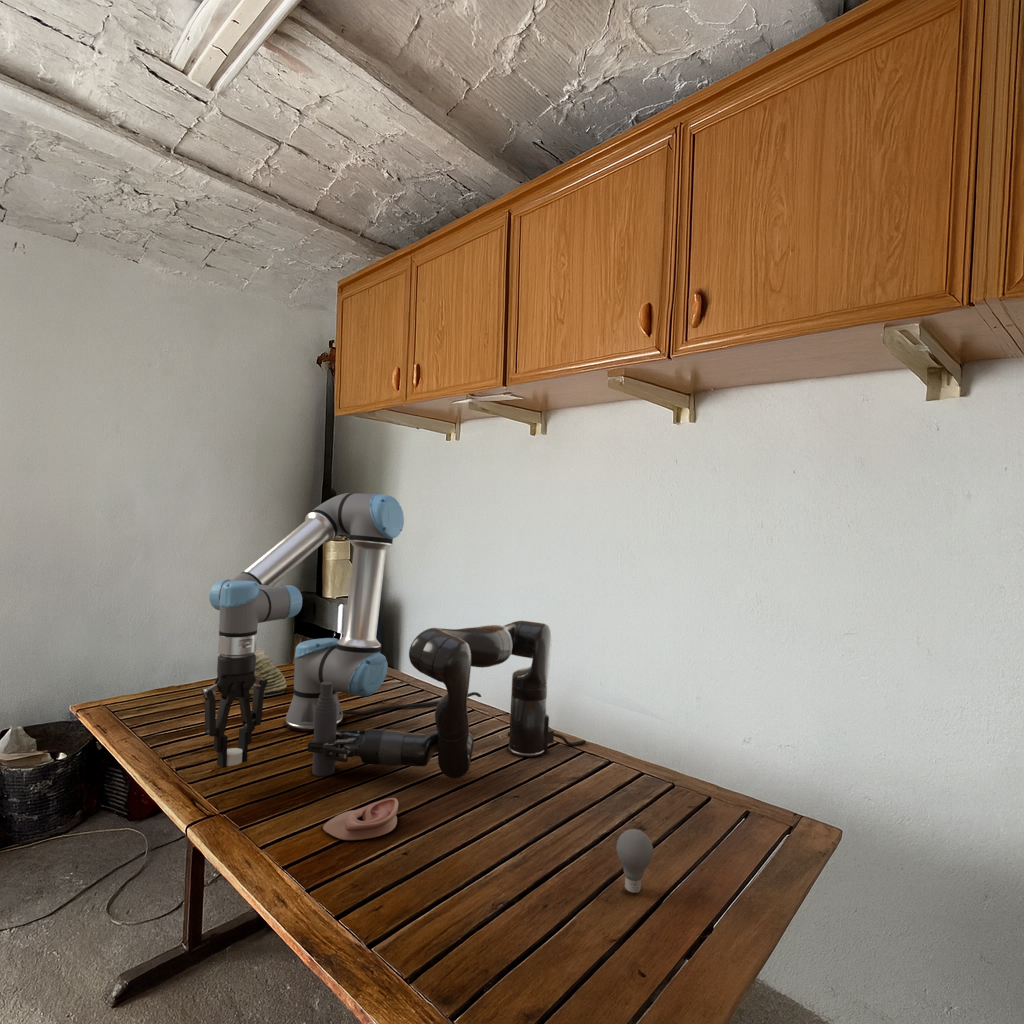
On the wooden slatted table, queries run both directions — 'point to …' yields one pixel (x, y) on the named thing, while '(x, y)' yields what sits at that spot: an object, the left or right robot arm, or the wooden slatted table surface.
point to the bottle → (324, 728)
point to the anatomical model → (364, 821)
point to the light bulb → (634, 857)
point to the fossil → (268, 674)
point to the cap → (234, 756)
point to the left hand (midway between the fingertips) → (232, 762)
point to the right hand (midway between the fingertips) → (313, 741)
